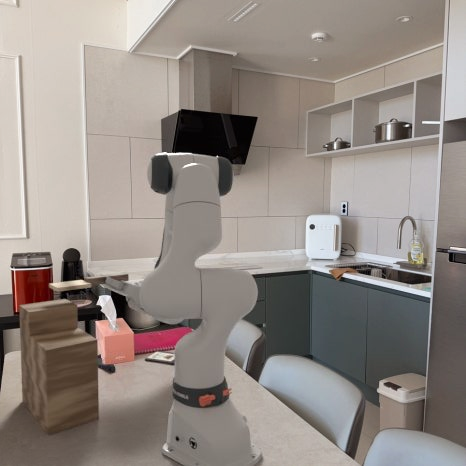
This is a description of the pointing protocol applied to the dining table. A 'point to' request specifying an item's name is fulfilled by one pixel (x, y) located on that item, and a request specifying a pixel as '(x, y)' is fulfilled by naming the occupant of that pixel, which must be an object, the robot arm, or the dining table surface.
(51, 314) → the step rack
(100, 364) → the dark grey t-shaped piece
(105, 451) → the dining table surface
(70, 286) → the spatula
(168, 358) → the chocolate bar
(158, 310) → the robot arm
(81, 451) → the dining table surface
